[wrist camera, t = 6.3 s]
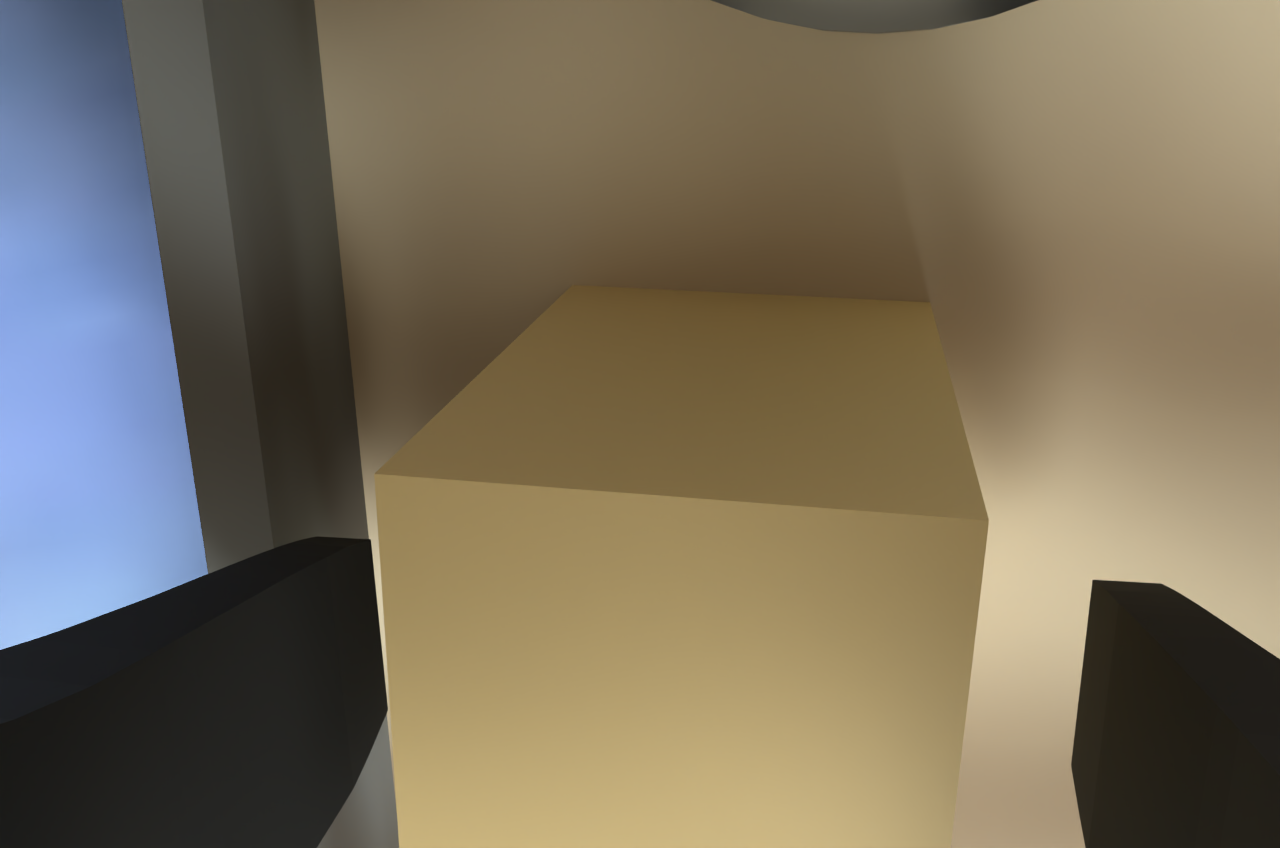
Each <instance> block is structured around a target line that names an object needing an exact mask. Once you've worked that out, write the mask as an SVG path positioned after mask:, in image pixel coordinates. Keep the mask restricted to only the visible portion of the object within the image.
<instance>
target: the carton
mask: <svg viewBox="0 0 1280 848" xmlns="http://www.w3.org/2000/svg"><path fill="white" fill-rule="evenodd" d="M374 479H375V494H376V509H377V524H378V539H379V554H380V569H381V583H382V598H383V613H384V628H385V643H386V658H387V673H388V688H389V703H390V718H391V732H392V747H393V762H394V777H395V792H396V807H397V822H398V837H399V848H951V840H952V832H953V823H954V815H955V806H956V798H957V789H958V781H959V772H960V764H961V755H962V747H963V738H964V730H965V721H966V713H967V704H968V696H969V687H970V679H971V670H972V662H973V653H974V645H975V636H976V628H977V619H978V611H979V602H980V594H981V585H982V577H983V568H984V560H985V552H986V543H987V535H988V526H989V518H988V515H987V511H986V507H985V503H984V500H983V496H982V492H981V489H980V485H979V481H978V478H977V474H976V470H975V467H974V463H973V459H972V455H971V452H970V448H969V444H968V441H967V437H966V433H965V430H964V426H963V422H962V418H961V415H960V411H959V407H958V404H957V400H956V396H955V393H954V389H953V385H952V382H951V378H950V374H949V370H948V367H947V363H946V359H945V356H944V352H943V348H942V345H941V341H940V337H939V334H938V330H937V326H936V322H935V319H934V315H933V311H932V308H931V304H930V302H911V301H891V300H870V299H849V298H829V297H808V296H787V295H767V294H746V293H725V292H705V291H684V290H664V289H643V288H622V287H602V286H581V285H572V286H571V287H570V288H569V289H568V290H567V291H566V292H565V293H564V294H563V295H561V296H560V297H559V298H558V299H557V300H556V301H555V302H554V303H553V304H552V305H551V306H550V307H549V308H548V309H547V310H546V311H545V312H544V313H543V314H542V315H540V316H539V317H538V318H537V319H536V320H535V321H534V322H533V323H532V324H531V325H530V326H529V327H528V328H527V329H526V330H525V331H524V332H523V333H522V334H521V335H519V336H518V337H517V338H516V339H515V340H514V341H513V342H512V343H511V344H510V345H509V346H508V347H507V348H506V349H505V350H504V351H503V352H502V353H501V354H500V355H498V356H497V357H496V358H495V359H494V360H493V361H492V362H491V363H490V364H489V365H488V366H487V367H486V368H485V369H484V370H483V371H482V372H481V373H480V374H479V375H477V376H476V377H475V378H474V379H473V380H472V381H471V382H470V383H469V384H468V385H467V386H466V387H465V388H464V389H463V390H462V391H461V392H460V393H459V394H458V395H456V396H455V397H454V398H453V399H452V400H451V401H450V402H449V403H448V404H447V405H446V406H445V407H444V408H443V409H442V410H441V411H440V412H439V413H438V414H437V415H435V416H434V417H433V418H432V419H431V420H430V421H429V422H428V423H427V424H426V425H425V426H424V427H423V428H422V429H421V430H420V431H419V432H418V433H417V434H416V435H414V436H413V437H412V438H411V439H410V440H409V441H408V442H407V443H406V444H405V445H404V446H403V447H402V448H401V449H400V450H399V451H398V452H397V453H396V454H395V455H393V456H392V457H391V458H390V459H389V460H388V461H387V462H386V463H385V464H384V465H383V466H382V467H381V468H380V469H379V470H378V471H377V472H376V473H375V474H374Z"/></svg>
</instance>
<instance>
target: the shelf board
mask: <svg viewBox="0 0 1280 848" xmlns="http://www.w3.org/2000/svg"><path fill="white" fill-rule="evenodd" d="M122 5H123V12H124V19H125V25H126V32H127V38H128V45H129V52H130V58H131V65H132V72H133V78H134V85H135V91H136V98H137V105H138V111H139V118H140V124H141V131H142V138H143V144H144V151H145V158H146V164H147V171H148V177H149V184H150V191H151V197H152V204H153V211H154V217H155V224H156V230H157V237H158V244H159V250H160V257H161V263H162V270H163V277H164V283H165V290H166V297H167V303H168V310H169V316H170V323H171V330H172V336H173V343H174V350H175V356H176V363H177V369H178V376H179V383H180V389H181V396H182V402H183V409H184V416H185V422H186V429H187V436H188V442H189V449H190V455H191V462H192V469H193V475H194V482H195V489H196V495H197V502H198V508H199V515H200V522H201V528H202V535H203V541H204V548H205V555H206V561H207V568H208V574H209V573H212V572H214V571H217V570H219V569H222V568H224V567H227V566H229V565H232V564H234V563H237V562H239V561H242V560H244V559H247V558H249V557H252V556H255V555H257V554H260V553H262V552H265V551H268V550H271V549H273V548H276V547H279V546H282V545H285V544H288V543H291V542H295V541H298V540H302V539H307V538H311V537H316V536H319V537H337V538H355V539H371V546H372V556H373V565H374V575H375V585H376V595H377V605H378V615H379V625H380V635H381V645H382V655H383V664H384V674H385V684H386V694H387V704H388V711H387V714H386V716H385V719H384V721H383V723H382V726H381V728H380V731H379V733H378V735H377V738H376V740H375V743H374V745H373V747H372V750H371V752H370V754H369V757H368V759H367V761H366V763H365V765H364V767H363V769H362V772H361V774H360V776H359V778H358V780H357V782H356V784H355V787H354V789H353V790H352V792H351V794H350V795H349V797H348V799H347V800H346V802H345V804H344V805H343V807H342V809H341V810H340V812H339V813H338V815H337V817H336V818H335V820H334V821H333V823H332V824H331V826H330V828H329V829H328V831H327V832H326V834H325V836H324V837H323V839H322V840H321V842H320V844H319V845H318V847H317V848H399V837H398V822H397V807H396V792H395V777H394V762H393V747H392V732H391V718H390V703H389V688H388V673H387V658H386V643H385V628H384V613H383V598H382V583H381V569H380V554H379V539H378V524H377V509H376V494H375V479H374V474H375V473H376V472H377V471H378V470H379V469H380V468H381V467H382V466H383V465H384V464H385V463H386V462H387V461H388V460H389V459H390V458H391V457H392V456H393V455H395V454H396V453H397V452H398V451H399V450H400V449H401V448H402V447H403V446H404V445H405V444H406V443H407V442H408V441H409V440H410V439H411V438H412V437H413V436H414V435H416V434H417V433H418V432H419V431H420V430H421V429H422V428H423V427H424V426H425V425H426V424H427V423H428V422H429V421H430V420H431V419H432V418H433V417H434V416H435V415H437V414H438V413H439V412H440V411H441V410H442V409H443V408H444V407H445V406H446V405H447V404H448V403H449V402H450V401H451V400H452V399H453V398H454V397H455V396H456V395H458V394H459V393H460V392H461V391H462V390H463V389H464V388H465V387H466V386H467V385H468V384H469V383H470V382H471V381H472V380H473V379H474V378H475V377H476V376H477V375H479V374H480V373H481V372H482V371H483V370H484V369H485V368H486V367H487V366H488V365H489V364H490V363H491V362H492V361H493V360H494V359H495V358H496V357H497V356H498V355H500V354H501V353H502V352H503V351H504V350H505V349H506V348H507V347H508V346H509V345H510V344H511V343H512V342H513V341H514V340H515V339H516V338H517V337H518V336H519V335H521V334H522V333H523V332H524V331H525V330H526V329H527V328H528V327H529V326H530V325H531V324H532V323H533V322H534V321H535V320H536V319H537V318H538V317H539V316H540V315H542V314H543V313H544V312H545V311H546V310H547V309H548V308H549V307H550V306H551V305H552V304H553V303H554V302H555V301H556V300H557V299H558V298H559V297H560V296H561V295H563V294H564V293H565V292H566V291H567V290H568V289H569V288H570V287H571V286H572V285H581V286H602V287H622V288H643V289H664V290H684V291H705V292H725V293H746V294H767V295H787V296H808V297H829V298H849V299H870V300H891V301H911V302H930V304H931V308H932V311H933V315H934V319H935V322H936V326H937V330H938V334H939V337H940V341H941V345H942V348H943V352H944V356H945V359H946V363H947V367H948V370H949V374H950V378H951V382H952V385H953V389H954V393H955V396H956V400H957V404H958V407H959V411H960V415H961V418H962V422H963V426H964V430H965V433H966V437H967V441H968V444H969V448H970V452H971V455H972V459H973V463H974V467H975V470H976V474H977V478H978V481H979V485H980V489H981V492H982V496H983V500H984V503H985V507H986V511H987V515H988V518H989V526H988V535H987V543H986V552H985V560H984V568H983V577H982V585H981V594H980V602H979V611H978V619H977V628H976V636H975V645H974V653H973V662H972V670H971V679H970V687H969V696H968V704H967V713H966V721H965V730H964V738H963V747H962V755H961V764H960V772H959V781H958V789H957V798H956V806H955V815H954V823H953V832H952V840H951V848H1085V843H1084V837H1083V832H1082V827H1081V821H1080V816H1079V810H1078V804H1077V798H1076V792H1075V786H1074V780H1073V774H1072V768H1071V761H1072V752H1073V744H1074V735H1075V726H1076V718H1077V709H1078V701H1079V692H1080V683H1081V675H1082V666H1083V657H1084V649H1085V640H1086V632H1087V623H1088V614H1089V606H1090V597H1091V589H1092V580H1108V581H1126V582H1144V583H1161V584H1163V585H1165V586H1167V587H1169V588H1171V589H1173V590H1175V591H1177V592H1179V593H1180V594H1182V595H1184V596H1185V597H1187V598H1189V599H1190V600H1192V601H1193V602H1195V603H1196V604H1198V605H1199V606H1201V607H1203V608H1204V609H1206V610H1207V611H1209V612H1210V613H1212V614H1213V615H1215V616H1216V617H1218V618H1219V619H1221V620H1222V621H1224V622H1225V623H1227V624H1228V625H1230V626H1231V627H1233V628H1234V629H1236V630H1237V631H1239V632H1240V633H1241V634H1243V635H1244V636H1246V637H1247V638H1249V639H1250V640H1252V641H1253V642H1255V643H1256V644H1258V645H1259V646H1261V647H1262V648H1264V649H1265V650H1267V651H1268V652H1270V653H1271V654H1273V655H1274V656H1276V657H1277V658H1279V659H1280V0H1038V1H1035V2H1032V3H1029V4H1026V5H1023V6H1021V7H1018V8H1015V9H1012V10H1009V11H1006V12H1003V13H1001V14H998V15H995V16H992V17H989V18H986V19H981V20H976V21H972V22H967V23H962V24H958V25H953V26H948V27H943V28H939V29H934V30H924V31H912V32H899V33H887V34H867V33H849V32H831V31H822V30H817V29H812V28H807V27H801V26H796V25H791V24H786V23H781V22H776V21H771V20H767V19H763V18H760V17H757V16H754V15H751V14H748V13H746V12H743V11H740V10H737V9H734V8H731V7H728V6H725V5H723V4H720V3H717V2H714V1H711V0H122Z"/></svg>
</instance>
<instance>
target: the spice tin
mask: <svg viewBox="0 0 1280 848" xmlns="http://www.w3.org/2000/svg"><path fill="white" fill-rule="evenodd" d="M711 1H714V2H717V3H720V4H723V5H725V6H728V7H731V8H734V9H737V10H740V11H743V12H746V13H748V14H751V15H754V16H757V17H760V18H763V19H767V20H771V21H776V22H781V23H786V24H791V25H796V26H801V27H807V28H812V29H817V30H822V31H831V32H849V33H867V34H887V33H899V32H912V31H924V30H934V29H939V28H943V27H948V26H953V25H958V24H962V23H967V22H972V21H976V20H981V19H986V18H989V17H992V16H995V15H998V14H1001V13H1003V12H1006V11H1009V10H1012V9H1015V8H1018V7H1021V6H1023V5H1026V4H1029V3H1032V2H1035V1H1038V0H711Z"/></svg>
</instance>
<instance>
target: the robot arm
mask: <svg viewBox="0 0 1280 848" xmlns="http://www.w3.org/2000/svg"><path fill="white" fill-rule="evenodd" d="M387 711H388V704H387V694H386V684H385V674H384V664H383V655H382V645H381V635H380V625H379V615H378V605H377V595H376V585H375V575H374V565H373V556H372V546H371V539H355V538H337V537H319V536H316V537H311V538H307V539H302V540H298V541H295V542H291V543H288V544H285V545H282V546H279V547H276V548H273V549H271V550H268V551H265V552H262V553H260V554H257V555H255V556H252V557H249V558H247V559H244V560H242V561H239V562H237V563H234V564H232V565H229V566H227V567H224V568H222V569H219V570H217V571H214V572H212V573H209V574H207V575H204V576H202V577H199V578H197V579H194V580H192V581H189V582H187V583H185V584H182V585H180V586H177V587H175V588H172V589H170V590H167V591H165V592H162V593H160V594H157V595H155V596H152V597H150V598H147V599H144V600H142V601H139V602H136V603H134V604H131V605H128V606H126V607H123V608H120V609H117V610H115V611H112V612H109V613H107V614H104V615H101V616H99V617H96V618H93V619H91V620H88V621H85V622H82V623H80V624H77V625H74V626H72V627H69V628H66V629H64V630H61V631H58V632H55V633H52V634H49V635H46V636H43V637H40V638H37V639H34V640H31V641H28V642H25V643H21V644H18V645H15V646H12V647H9V648H6V649H2V650H0V848H317V847H318V845H319V844H320V842H321V840H322V839H323V837H324V836H325V834H326V832H327V831H328V829H329V828H330V826H331V824H332V823H333V821H334V820H335V818H336V817H337V815H338V813H339V812H340V810H341V809H342V807H343V805H344V804H345V802H346V800H347V799H348V797H349V795H350V794H351V792H352V790H353V789H354V787H355V784H356V782H357V780H358V778H359V776H360V774H361V772H362V769H363V767H364V765H365V763H366V761H367V759H368V757H369V754H370V752H371V750H372V747H373V745H374V743H375V740H376V738H377V735H378V733H379V731H380V728H381V726H382V723H383V721H384V719H385V716H386V714H387ZM1071 768H1072V774H1073V780H1074V786H1075V792H1076V798H1077V804H1078V810H1079V816H1080V821H1081V827H1082V832H1083V837H1084V843H1085V848H1280V659H1279V658H1277V657H1276V656H1274V655H1273V654H1271V653H1270V652H1268V651H1267V650H1265V649H1264V648H1262V647H1261V646H1259V645H1258V644H1256V643H1255V642H1253V641H1252V640H1250V639H1249V638H1247V637H1246V636H1244V635H1243V634H1241V633H1240V632H1239V631H1237V630H1236V629H1234V628H1233V627H1231V626H1230V625H1228V624H1227V623H1225V622H1224V621H1222V620H1221V619H1219V618H1218V617H1216V616H1215V615H1213V614H1212V613H1210V612H1209V611H1207V610H1206V609H1204V608H1203V607H1201V606H1199V605H1198V604H1196V603H1195V602H1193V601H1192V600H1190V599H1189V598H1187V597H1185V596H1184V595H1182V594H1180V593H1179V592H1177V591H1175V590H1173V589H1171V588H1169V587H1167V586H1165V585H1163V584H1161V583H1144V582H1126V581H1108V580H1092V589H1091V597H1090V606H1089V614H1088V623H1087V632H1086V640H1085V649H1084V657H1083V666H1082V675H1081V683H1080V692H1079V701H1078V709H1077V718H1076V726H1075V735H1074V744H1073V752H1072V761H1071Z"/></svg>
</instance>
